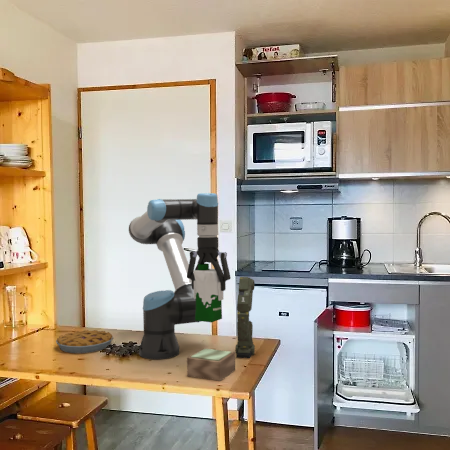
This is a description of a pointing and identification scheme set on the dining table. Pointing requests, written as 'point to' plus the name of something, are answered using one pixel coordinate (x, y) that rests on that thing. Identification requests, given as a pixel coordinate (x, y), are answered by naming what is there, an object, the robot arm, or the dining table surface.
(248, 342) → the mechanical leg
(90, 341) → the pie
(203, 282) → the soya milk
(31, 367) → the dining table surface
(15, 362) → the dining table surface
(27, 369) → the dining table surface
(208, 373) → the step block
